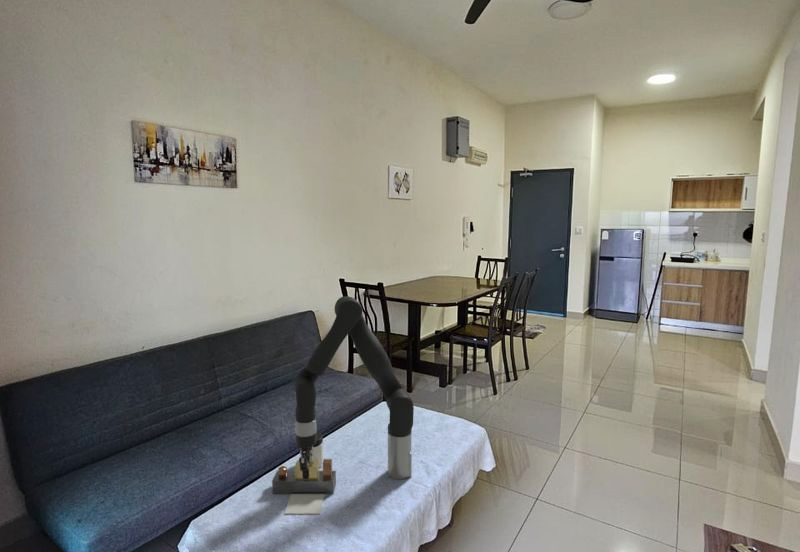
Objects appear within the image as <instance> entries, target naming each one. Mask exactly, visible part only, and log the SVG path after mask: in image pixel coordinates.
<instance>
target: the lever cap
mask: <svg viewBox="0 0 800 552" xmlns="http://www.w3.org/2000/svg"><path fill="white" fill-rule="evenodd" d="M294 471H295V480H317V478H318V475H319V471H320V467H319V460H311V461H310V463H309V478H308V479H303V476H302V471H300V463H299V459H297V460H296V462H295V464H294Z"/></svg>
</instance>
